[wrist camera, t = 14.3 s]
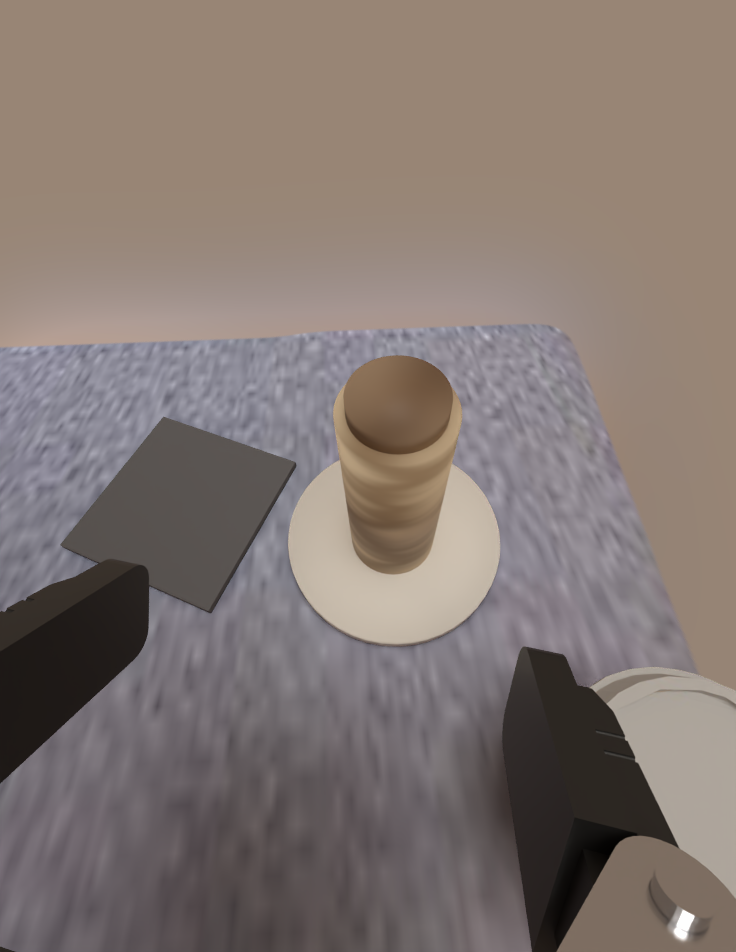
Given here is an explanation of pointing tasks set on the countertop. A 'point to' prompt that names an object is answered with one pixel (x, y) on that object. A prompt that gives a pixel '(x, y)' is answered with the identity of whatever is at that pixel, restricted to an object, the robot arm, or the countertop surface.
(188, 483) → the mat
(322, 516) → the plate
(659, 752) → the disposable coffee cup
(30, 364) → the countertop surface
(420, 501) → the pepper mill
